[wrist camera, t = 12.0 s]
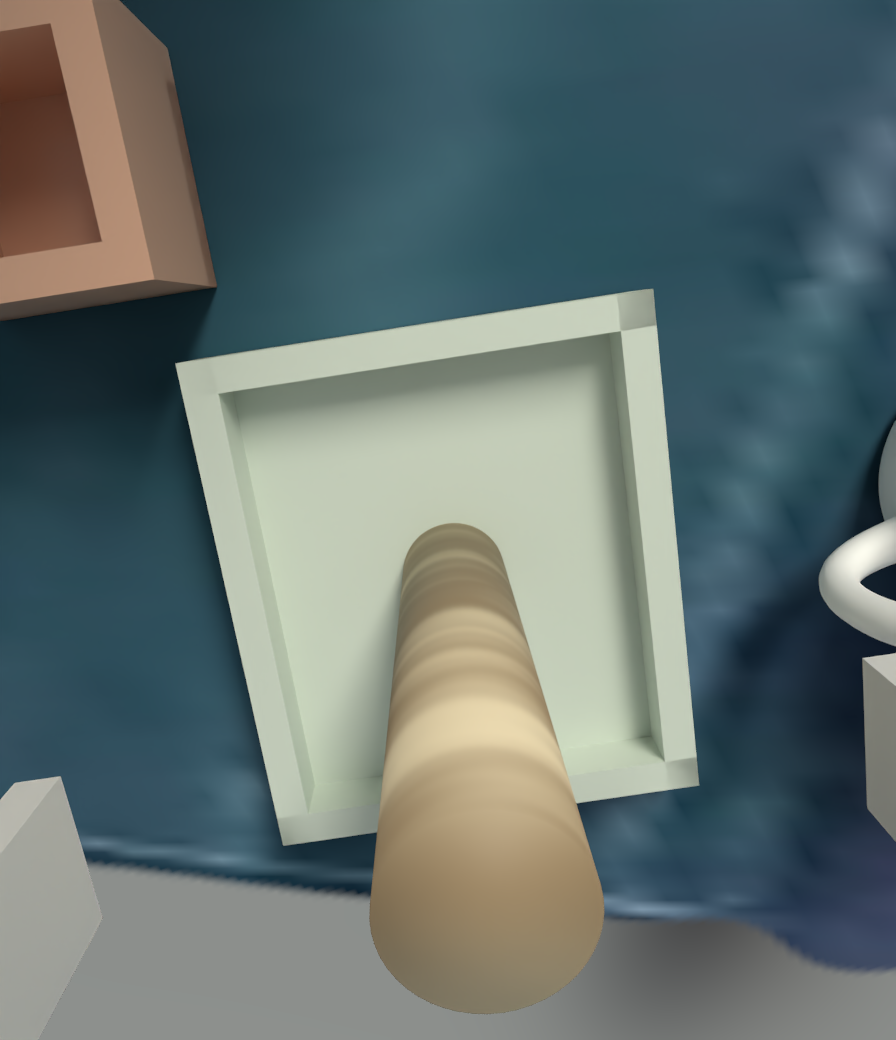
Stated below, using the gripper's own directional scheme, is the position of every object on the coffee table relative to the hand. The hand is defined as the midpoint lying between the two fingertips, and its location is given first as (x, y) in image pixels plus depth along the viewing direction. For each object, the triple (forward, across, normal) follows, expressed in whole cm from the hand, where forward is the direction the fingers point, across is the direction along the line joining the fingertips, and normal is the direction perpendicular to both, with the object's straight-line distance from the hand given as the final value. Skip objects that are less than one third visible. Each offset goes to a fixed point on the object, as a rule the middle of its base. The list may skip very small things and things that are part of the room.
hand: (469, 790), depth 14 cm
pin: (+13, 0, -1) cm, 14 cm away
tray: (+14, 0, -1) cm, 14 cm away
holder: (+14, -9, +12) cm, 21 cm away
